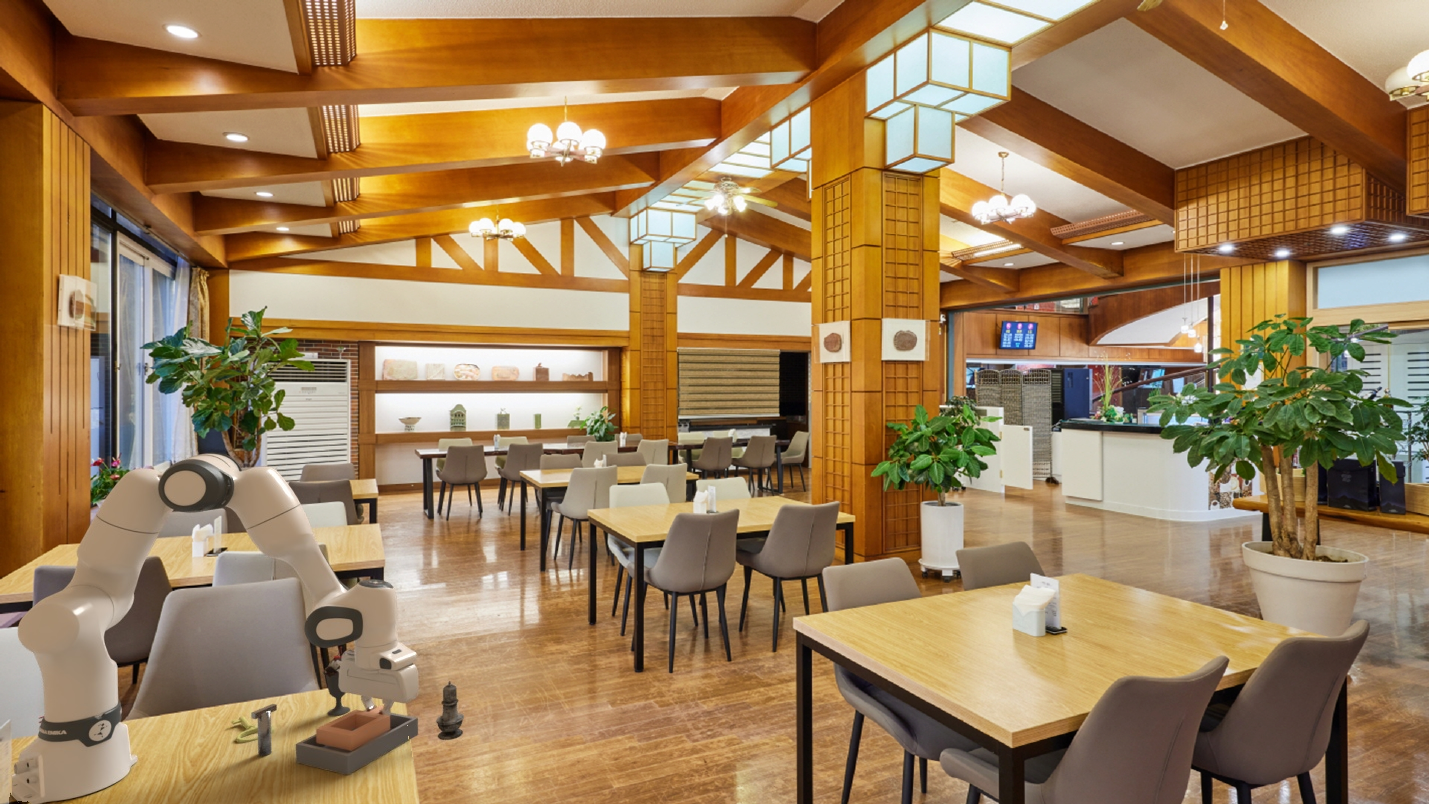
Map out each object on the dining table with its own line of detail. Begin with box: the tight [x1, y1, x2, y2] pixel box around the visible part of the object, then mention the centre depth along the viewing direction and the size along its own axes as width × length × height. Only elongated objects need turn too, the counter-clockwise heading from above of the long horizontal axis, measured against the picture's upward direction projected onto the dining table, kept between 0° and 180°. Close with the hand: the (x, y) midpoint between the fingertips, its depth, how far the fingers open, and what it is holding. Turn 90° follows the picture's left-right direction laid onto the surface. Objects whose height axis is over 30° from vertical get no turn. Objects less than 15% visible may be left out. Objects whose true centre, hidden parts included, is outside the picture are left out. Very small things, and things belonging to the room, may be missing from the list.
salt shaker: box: [435, 680, 465, 741], centre depth 163 cm, size 6×6×12 cm
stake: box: [250, 703, 278, 757], centre depth 155 cm, size 2×5×10 cm, turn 158°
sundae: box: [322, 646, 351, 717], centre depth 176 cm, size 7×7×15 cm
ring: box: [315, 705, 390, 751], centre depth 157 cm, size 14×10×3 cm
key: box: [231, 715, 275, 744], centre depth 165 cm, size 7×12×2 cm, turn 67°
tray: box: [295, 709, 419, 776], centre depth 157 cm, size 15×19×4 cm
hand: (378, 716), depth 162 cm, fingers closed on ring, 3 cm apart
